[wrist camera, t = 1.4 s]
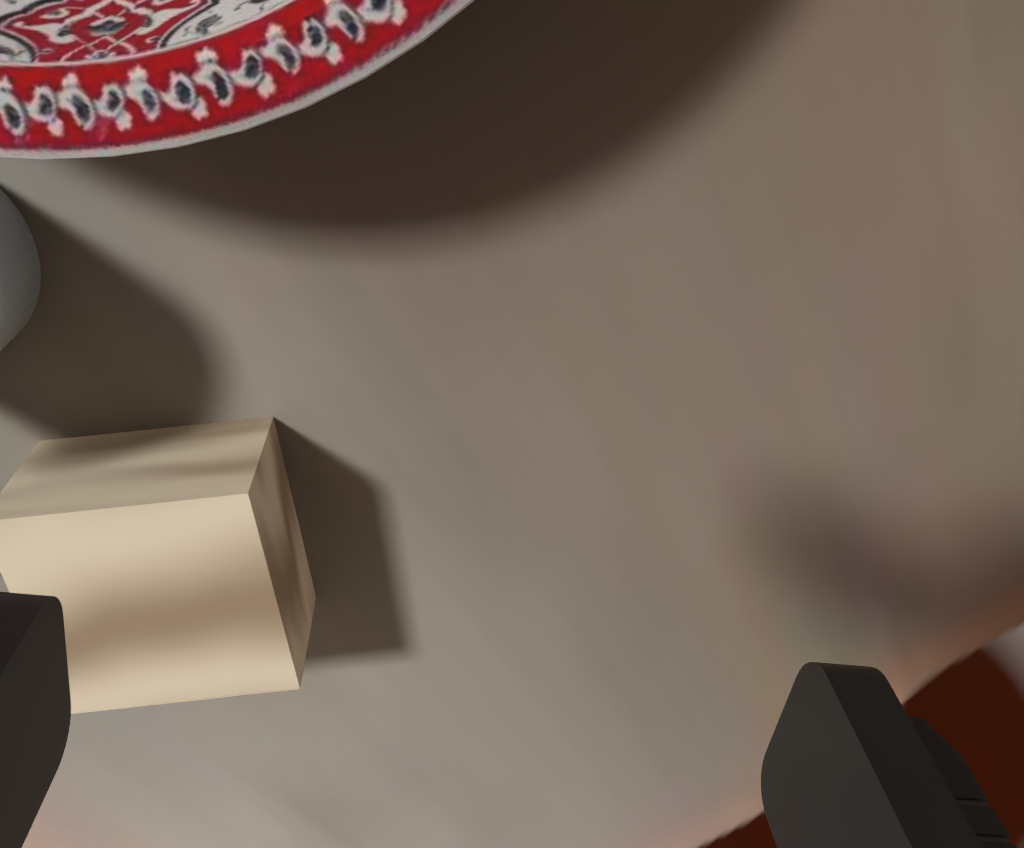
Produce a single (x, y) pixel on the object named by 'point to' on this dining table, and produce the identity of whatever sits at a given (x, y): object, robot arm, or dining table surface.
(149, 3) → the ceramic bowl
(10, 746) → the robot arm
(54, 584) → the block
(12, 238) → the white rounded cylinder
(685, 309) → the dining table surface
